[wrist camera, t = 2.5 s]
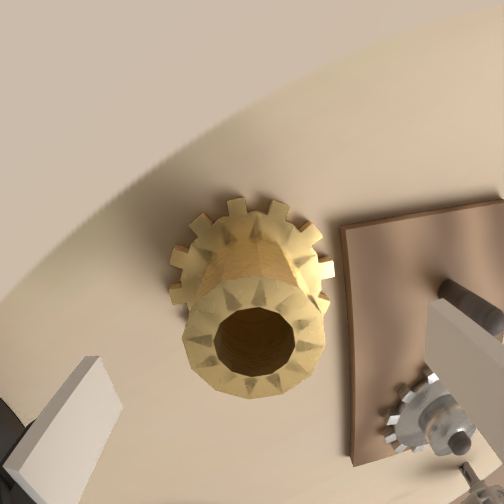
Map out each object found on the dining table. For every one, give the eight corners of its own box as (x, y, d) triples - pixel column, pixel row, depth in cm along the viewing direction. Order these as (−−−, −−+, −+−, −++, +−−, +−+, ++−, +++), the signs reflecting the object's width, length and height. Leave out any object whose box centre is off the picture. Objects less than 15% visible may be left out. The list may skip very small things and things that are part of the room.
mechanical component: (451, 459, 29) (481, 509, 19) (486, 458, 30) (514, 498, 20) (437, 473, 29) (464, 523, 20) (474, 471, 30) (499, 512, 21)
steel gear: (377, 457, 25) (392, 492, 20) (384, 378, 23) (408, 417, 18) (465, 423, 25) (486, 450, 20) (485, 342, 22) (517, 368, 18)
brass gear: (193, 356, 23) (171, 440, 15) (155, 214, 21) (98, 242, 12) (336, 332, 23) (376, 408, 14) (318, 184, 21) (368, 192, 12)
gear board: (350, 457, 27) (370, 518, 19) (338, 226, 21) (390, 257, 13) (475, 410, 27) (510, 454, 18) (502, 199, 21) (572, 213, 13)
